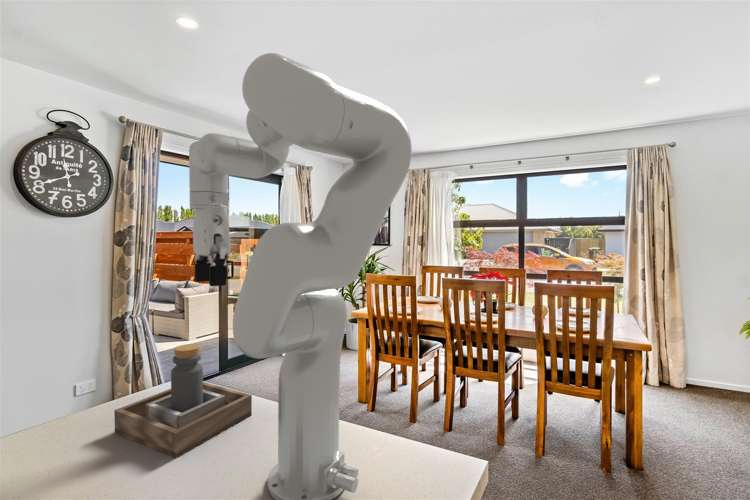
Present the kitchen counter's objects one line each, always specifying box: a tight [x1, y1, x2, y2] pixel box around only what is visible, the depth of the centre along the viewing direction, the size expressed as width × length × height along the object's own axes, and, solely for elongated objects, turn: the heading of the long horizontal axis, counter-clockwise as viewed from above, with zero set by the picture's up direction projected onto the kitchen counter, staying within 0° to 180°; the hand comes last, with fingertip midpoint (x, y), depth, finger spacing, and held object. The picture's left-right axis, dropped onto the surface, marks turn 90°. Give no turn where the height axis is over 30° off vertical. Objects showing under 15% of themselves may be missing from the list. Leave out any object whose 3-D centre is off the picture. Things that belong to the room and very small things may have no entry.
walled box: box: [114, 381, 253, 459], centre depth 79 cm, size 18×18×5 cm
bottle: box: [170, 343, 204, 413], centre depth 79 cm, size 6×6×15 cm
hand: (210, 283), depth 82 cm, fingers open, 9 cm apart
